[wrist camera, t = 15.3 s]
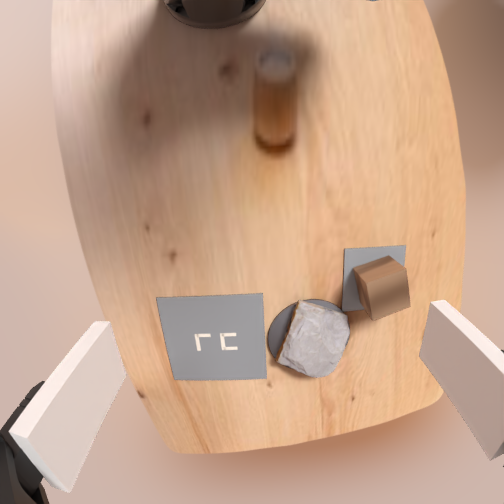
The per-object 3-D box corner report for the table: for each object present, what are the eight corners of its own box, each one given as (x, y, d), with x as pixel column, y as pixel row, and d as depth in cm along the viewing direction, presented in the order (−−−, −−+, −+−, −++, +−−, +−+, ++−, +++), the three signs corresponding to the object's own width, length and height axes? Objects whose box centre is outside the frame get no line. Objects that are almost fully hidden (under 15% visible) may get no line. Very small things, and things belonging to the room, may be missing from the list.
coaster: (266, 302, 46) (266, 303, 45) (351, 295, 46) (352, 297, 45) (269, 370, 50) (269, 373, 49) (345, 363, 49) (346, 365, 49)
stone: (358, 312, 46) (365, 323, 42) (328, 371, 49) (332, 384, 46) (297, 296, 45) (300, 307, 42) (271, 359, 48) (272, 373, 45)
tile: (344, 248, 44) (344, 249, 43) (405, 245, 43) (405, 245, 43) (341, 311, 46) (341, 311, 46) (398, 304, 46) (399, 305, 46)
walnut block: (352, 267, 44) (366, 283, 38) (388, 255, 44) (406, 268, 38) (360, 302, 46) (372, 321, 40) (394, 289, 45) (410, 306, 39)
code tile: (156, 297, 46) (156, 298, 45) (262, 293, 45) (262, 293, 45) (174, 379, 50) (174, 379, 50) (266, 377, 50) (266, 378, 50)
